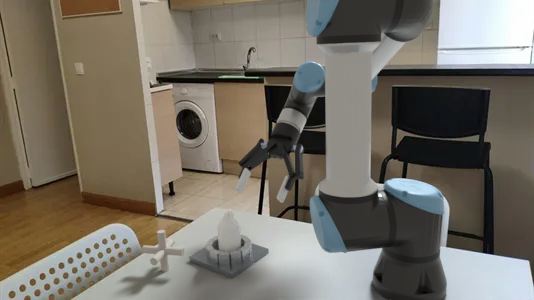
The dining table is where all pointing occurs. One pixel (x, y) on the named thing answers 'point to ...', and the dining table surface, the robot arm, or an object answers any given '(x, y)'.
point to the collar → (228, 257)
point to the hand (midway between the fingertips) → (258, 195)
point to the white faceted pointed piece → (229, 233)
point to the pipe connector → (162, 250)
